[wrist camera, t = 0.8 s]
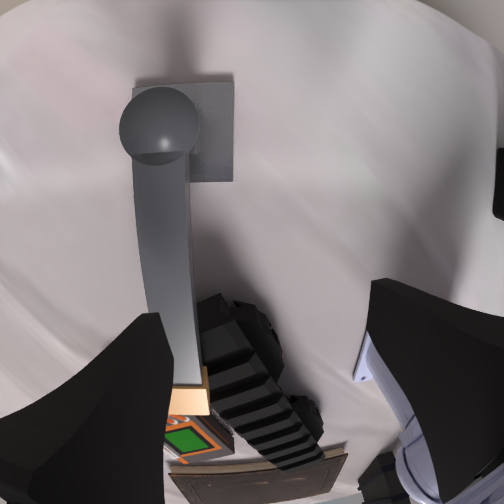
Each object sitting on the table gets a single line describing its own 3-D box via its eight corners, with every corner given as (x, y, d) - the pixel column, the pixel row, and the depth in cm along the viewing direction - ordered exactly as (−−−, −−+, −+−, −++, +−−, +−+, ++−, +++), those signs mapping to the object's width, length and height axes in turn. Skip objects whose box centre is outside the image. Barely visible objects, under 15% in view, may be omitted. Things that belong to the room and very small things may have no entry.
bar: (201, 91, 10) (198, 82, 9) (214, 393, 16) (214, 415, 15) (132, 97, 10) (118, 90, 8) (167, 392, 16) (163, 414, 14)
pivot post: (233, 83, 15) (239, 60, 10) (232, 180, 17) (237, 195, 12) (135, 89, 14) (104, 72, 10) (136, 184, 17) (105, 200, 12)
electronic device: (144, 364, 19) (236, 457, 24) (152, 342, 22) (235, 436, 27) (86, 383, 20) (182, 468, 24) (96, 363, 22) (184, 448, 27)
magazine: (405, 447, 31) (417, 524, 21) (369, 456, 41) (378, 519, 31) (385, 454, 31) (396, 534, 21) (352, 461, 40) (361, 526, 30)
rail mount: (325, 422, 28) (337, 456, 23) (272, 441, 28) (279, 476, 23) (243, 272, 20) (250, 312, 15) (163, 308, 20) (150, 353, 16)
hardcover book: (169, 461, 29) (168, 475, 27) (343, 442, 31) (348, 455, 29) (193, 497, 35) (193, 508, 33) (326, 483, 37) (329, 493, 34)
